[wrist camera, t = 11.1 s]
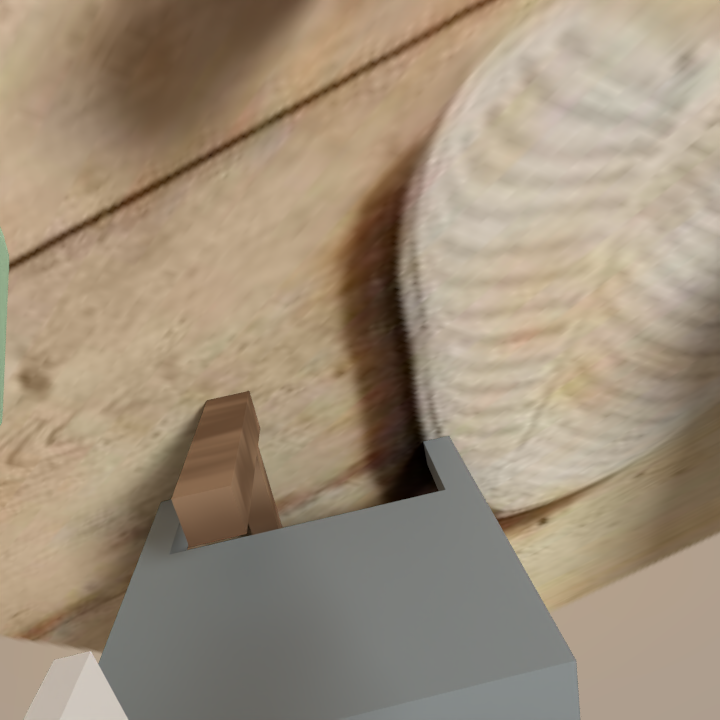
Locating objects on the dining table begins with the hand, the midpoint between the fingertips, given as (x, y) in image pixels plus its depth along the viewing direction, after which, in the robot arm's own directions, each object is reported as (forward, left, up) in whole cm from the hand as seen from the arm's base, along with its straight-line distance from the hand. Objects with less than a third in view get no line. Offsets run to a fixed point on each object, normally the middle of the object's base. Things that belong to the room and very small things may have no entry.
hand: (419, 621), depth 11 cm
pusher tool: (+8, +14, -28) cm, 32 cm away
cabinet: (+4, +17, -28) cm, 33 cm away
